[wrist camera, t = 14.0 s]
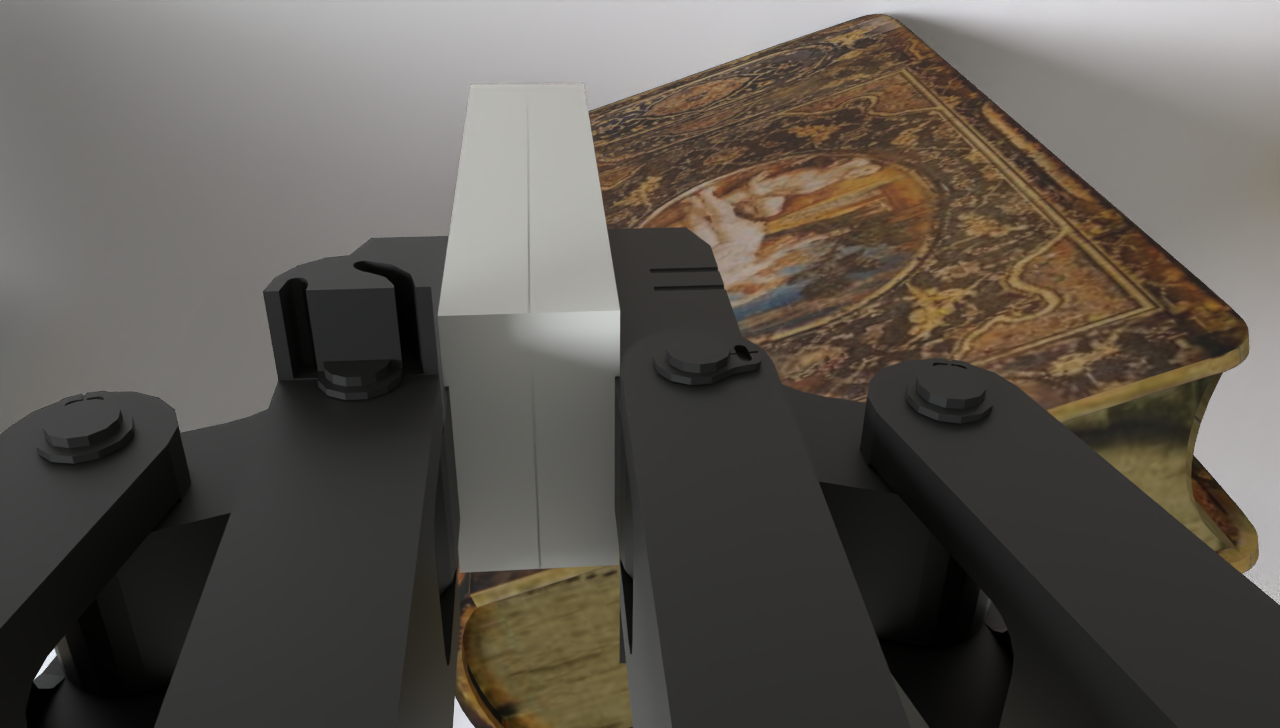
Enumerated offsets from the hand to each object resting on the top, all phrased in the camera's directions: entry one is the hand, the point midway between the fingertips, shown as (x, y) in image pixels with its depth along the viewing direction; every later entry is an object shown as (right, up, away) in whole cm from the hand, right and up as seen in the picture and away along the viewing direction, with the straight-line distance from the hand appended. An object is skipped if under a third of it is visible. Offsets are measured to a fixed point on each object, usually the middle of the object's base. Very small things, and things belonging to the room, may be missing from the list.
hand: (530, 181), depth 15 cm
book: (+3, +6, +28) cm, 29 cm away
